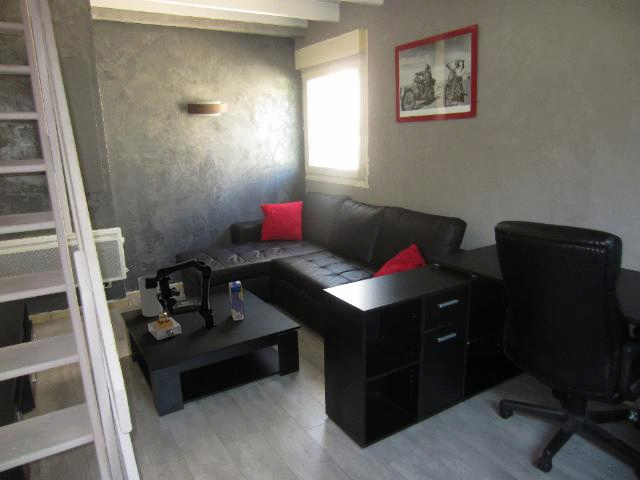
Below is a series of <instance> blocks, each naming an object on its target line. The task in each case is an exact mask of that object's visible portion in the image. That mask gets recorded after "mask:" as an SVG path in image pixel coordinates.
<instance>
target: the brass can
mask: <svg viewBox="0 0 640 480" xmlns="http://www.w3.org/2000/svg"><path fill="white" fill-rule="evenodd" d="M167 312H168V311H163V312H161V313H159V315H158V318H159V319H158V320H160V324H164V323H167V322H168V318H169V317H168V313H167Z"/></svg>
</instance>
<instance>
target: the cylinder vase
mask: <svg viewBox="0 0 640 480" xmlns="http://www.w3.org/2000/svg"><path fill="white" fill-rule="evenodd" d="M156 275H157V274H145V275H142V276H139V277H138V278H137V281H138V288H139V289H138V290H139V297H140V303H141V311H142V316H143V317H146V318H153V317H157V316H159V313H161V312H164V311H163V310H164V309H163V307H162V306H161V304H160V303H159V301H158V300H157V298H156V294H157V293H160V291H159V289H160V287H159V285H158V287H157V288H155V289H146V288H145V281H146V280H145V279H146V278H147V277H149V278H151V277H155V276H156ZM158 284H159V281H158Z"/></svg>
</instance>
